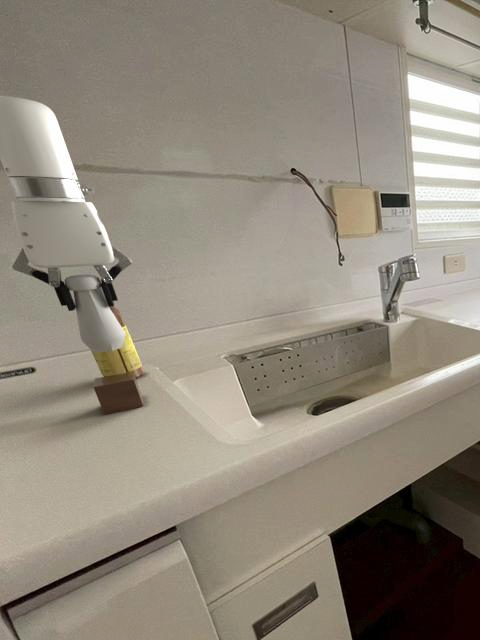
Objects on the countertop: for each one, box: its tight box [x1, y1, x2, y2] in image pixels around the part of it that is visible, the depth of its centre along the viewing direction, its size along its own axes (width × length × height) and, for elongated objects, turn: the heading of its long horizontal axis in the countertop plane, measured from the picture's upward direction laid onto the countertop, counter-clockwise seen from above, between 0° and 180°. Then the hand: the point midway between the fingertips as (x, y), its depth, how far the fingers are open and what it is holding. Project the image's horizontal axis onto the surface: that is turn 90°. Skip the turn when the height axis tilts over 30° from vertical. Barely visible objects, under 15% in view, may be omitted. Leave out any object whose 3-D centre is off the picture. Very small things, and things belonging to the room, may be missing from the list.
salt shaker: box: [64, 274, 126, 352], centre depth 70 cm, size 6×6×13 cm
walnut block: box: [93, 372, 144, 415], centre depth 69 cm, size 5×5×5 cm
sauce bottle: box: [90, 287, 144, 379], centre depth 78 cm, size 6×6×20 cm
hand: (92, 306), depth 70 cm, fingers closed on salt shaker, 4 cm apart
